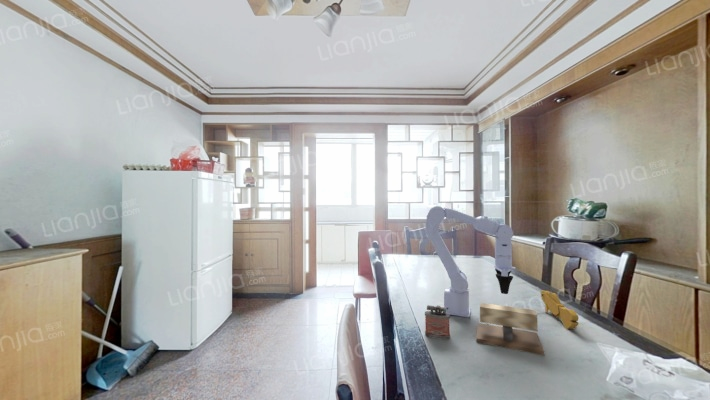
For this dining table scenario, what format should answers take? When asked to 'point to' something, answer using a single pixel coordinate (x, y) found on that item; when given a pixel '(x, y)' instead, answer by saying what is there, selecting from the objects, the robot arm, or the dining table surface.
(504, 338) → the ridge stand
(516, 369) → the dining table surface
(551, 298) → the decorative fish
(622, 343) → the dining table surface
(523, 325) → the pine batten
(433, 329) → the lighter
